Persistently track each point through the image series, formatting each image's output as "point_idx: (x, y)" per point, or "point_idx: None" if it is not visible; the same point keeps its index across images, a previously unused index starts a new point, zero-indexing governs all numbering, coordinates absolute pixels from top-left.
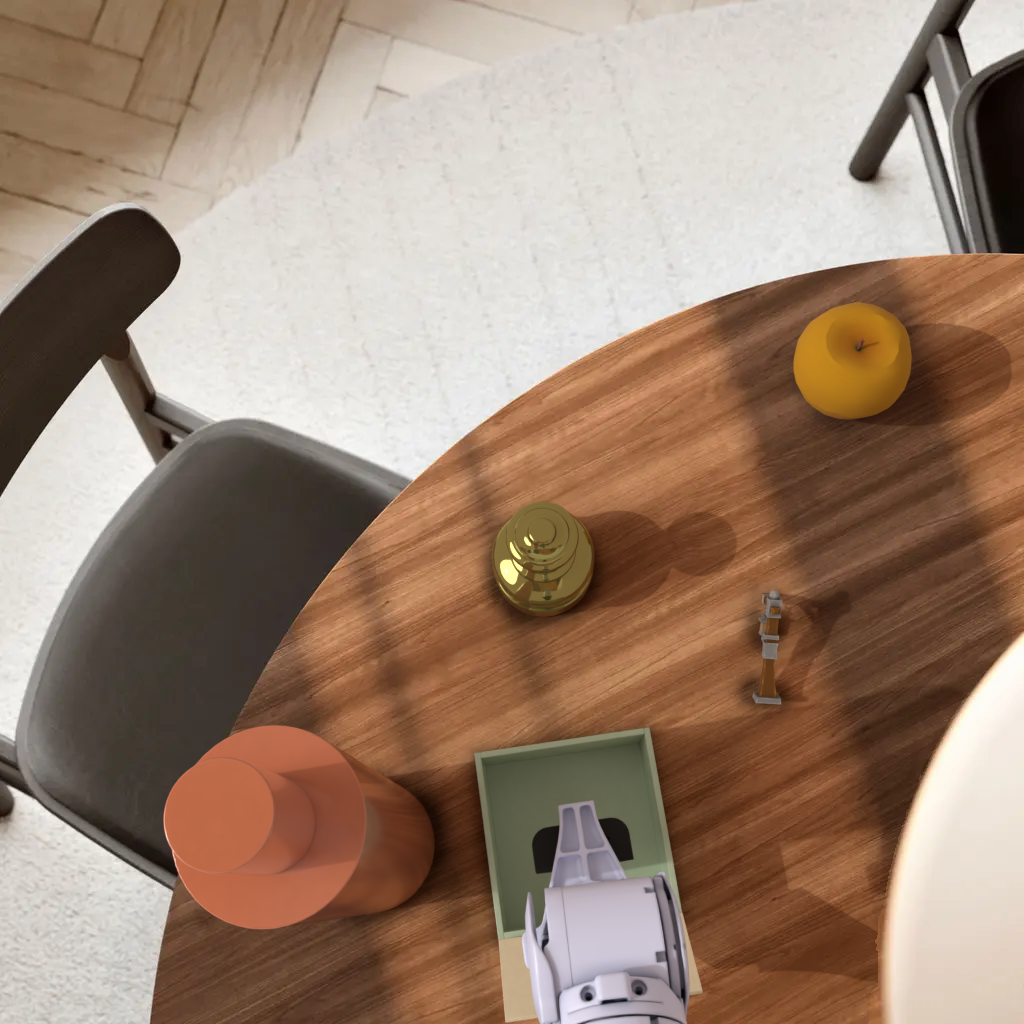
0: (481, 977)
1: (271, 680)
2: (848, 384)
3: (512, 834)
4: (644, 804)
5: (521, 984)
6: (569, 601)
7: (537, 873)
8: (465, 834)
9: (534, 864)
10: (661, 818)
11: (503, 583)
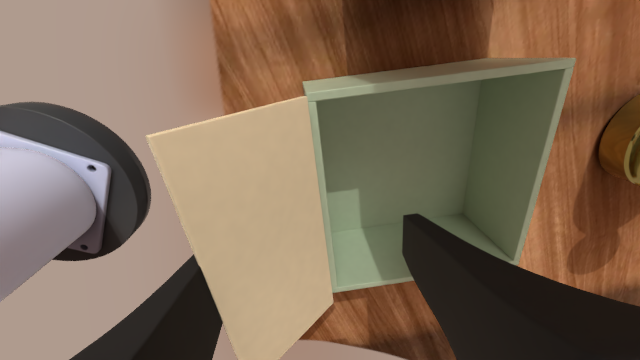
0: (257, 54)
1: None
2: None
3: (406, 95)
4: None
5: (235, 152)
6: (629, 165)
7: (585, 354)
8: (413, 37)
9: (632, 356)
10: None
11: None
